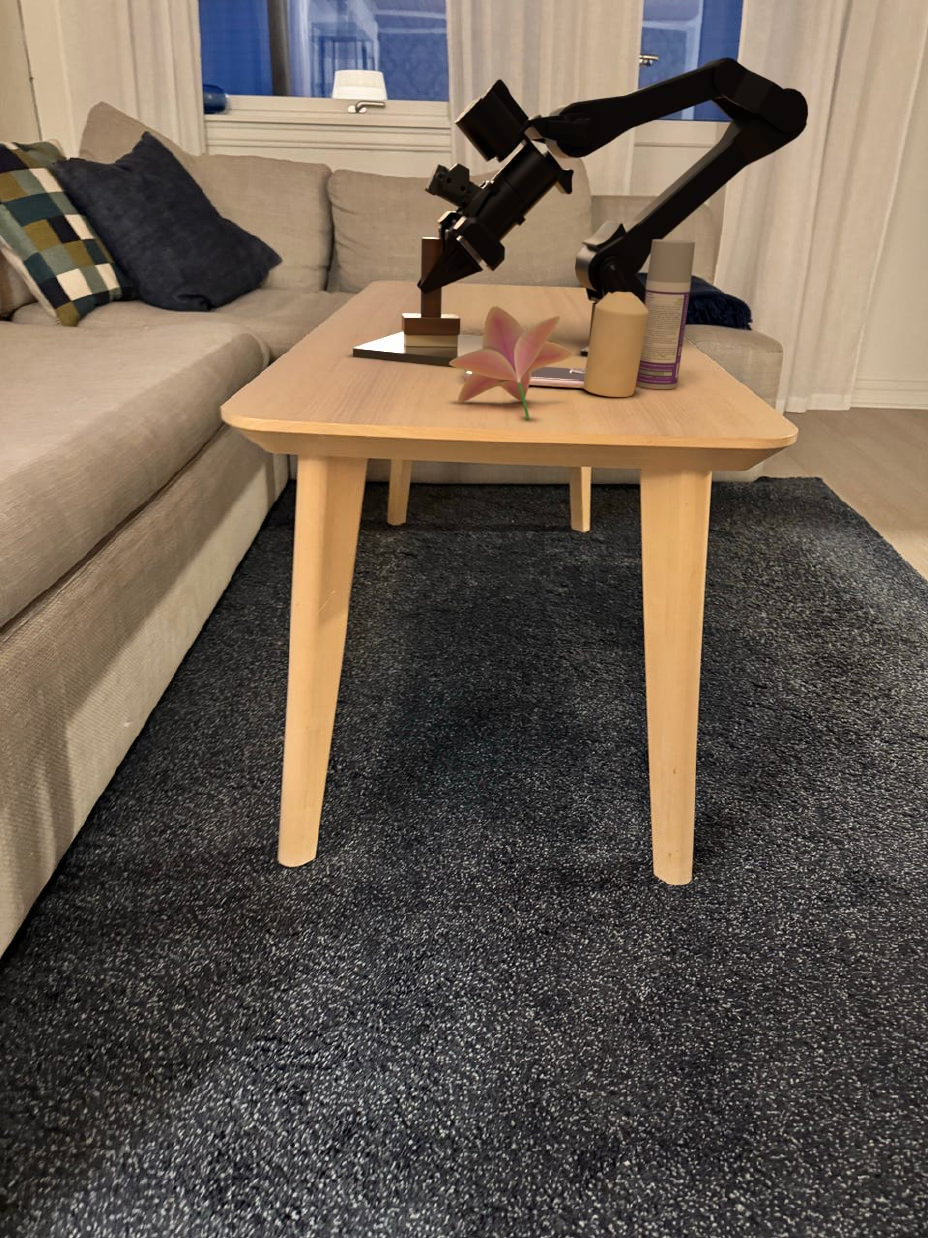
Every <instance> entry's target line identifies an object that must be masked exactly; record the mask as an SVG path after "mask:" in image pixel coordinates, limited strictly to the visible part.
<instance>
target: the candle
mask: <svg viewBox="0 0 928 1238" xmlns="http://www.w3.org/2000/svg"><path fill="white" fill-rule="evenodd" d="M648 314H649V311H648V309H647V308H646V306H645V305H644V304H643V303H642V302H641V301H640V300H639V298H638V297H636V296H635V295H634V294H633V293H631V292H614V293H613V294H612V293H610V292H608V294H607V295H606V296H605V297H604V298H603V299H601V300H600V301H599V302H598V303H597V304H596V305H595V311H594V317H593V324H592V330H591V337H590V343H589V342H588V345H589V350H588V355H587V356H586V357H587V358H586V362H585V363H586V364H585V369H586V370H585V376H584V388H583V389H584V390H585V391H587V392H589V393H591V394H595V395H599V396H605V397H610V398H611V397H612V398H626V397H627V398H628V397H631V396H633V395H634V394H635V390H636V386H637V385H636V380H637V375H638V369H639V364H640V358H641V353H642V347H643V341H644V336H645V330H646V325H647V319H648Z"/></svg>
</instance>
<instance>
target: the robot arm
mask: <svg viewBox="0 0 928 1238" xmlns="http://www.w3.org/2000/svg"><path fill="white" fill-rule="evenodd" d="M710 101H711V102H712V103H713V104H715V105H716V106H717V108H718V109H719V110H720V111H721V112H722V113H723V114H724V115H725V116H726V117H727V118H729V119H730V123H729V124H728V126H727V128H726V129H725V131H724V133H723V135H722V137H721V138H720V140H719V141H718V142H717V143H716V144H715V145H714V146H713V147H711V149H709V150H708V151H707V152H706V153H705V154H704V155H703V156H701V158H699V159H698V160H697V161H696V162H695V163H693V164H692V166H690V167H689V168H688V169H687V170H686V171H684V173H683V174H681V176H679V177H678V178H677V179H675V181H673V182H672V183H671V184H669V186H668V187H667V188H666V189H665V190H663V191H662V192H661V193H660V194H659V195H658V196H657V197H656V198H654V200H652V201H651V202H650V203H649V204H648V205H647V206H645V208H643V209H642V210H641V211H640V212H639V213H638V214H637V215H635V216H634V217H633V218H632V219H630V220H629V221H628V222H626V223H624V224H623V222H618V221H611V220H606V221H605V222H604V223H603V224H602V225H601V226H600V227H599V228H598V230H597V231H596V232H595V233H594V234H593V235H592V236H591V237H589V238H587V239H584V240H582V241H581V244H582V245H584V246H583V247H582V248H581V250H580V251H579V252H577V255H576V257H575V264H574V271H575V276H576V278H577V280H578V282H579V283H580V284H581V285H582V286H583V287H584V288H585V292H586V296H587V300H588V301H590V302H592V303H591V312H590V323H589V335H588V345H587V346H585V347H584V348H583V349H581V350H580V355H583V356H588V350H589V343H590V337H591V330H592V324H593V317H594V311H595V305H596V304H597V303H598V302H599V301H600V300H601V299H603V298H604V297H605V296H606V295H607V294H608V292H610V293H612V294H613V293H614V292H631V293H633V294H634V295H635V296H636V297H638V298H639V300H640V301H641V302H642V303H643V304H644V299H645V290H646V286H645V285H644V284H643V283H642V282H641V280H640V279H639V278H638V276H637V275H638V273H640V272H641V270H642V269H643V267H645V264H646V262H647V260H648V259H649V258H650V254H651V247H652V240H656V239H666V238H667V236H668V235H669V234H670V233H672V232H673V231H674V230H675V229H676V228H677V227H679V225H681V224H682V223H683V222H684V221H686V219H688V217H690V216H691V215H692V214H693V213H694V212H696V211H697V210H698V209H699V208H700V207H701V206H702V205H704V204H705V202H707V201H708V200H709V199H710V198H712V196H714V195H715V194H716V193H717V192H718V191H720V190H721V189H722V188H723V187H724V186H725V185H726V184H728V183H729V182H730V181H731V180H732V179H733V178H735V176H736V175H738V174H739V173H740V172H741V171H742V170H743V169H745V168H747V166H749V165H751V164H753V163H755V162H757V161H760V160H762V159H763V158H765V157H767V156H769V155H772V154H774V153H775V152H778V150H781V148H784V147H785V146H787V145H788V144H790V143H791V142H793V141H795V140H796V139H797V138H799V136H800V135H802V133H803V132H804V131H805V129H806V127H807V126H808V118H809V105H808V102H807V99H806V97H805V95H804V94H803V93H802V92H801V91H800V90H798V89H796V88H791V87H786V88H783V87H782V86H781V85H779V84H777V83H776V82H775V81H773V80H770V79H769V78H766V77H764V76H762V75H760V74H758V73H756V72H754V71H752V70H750V69H748V68H747V67H746V66H744V65H742V64H741V63H740V62H738V61H737V60H735V58H732V57H730V56H729V57H722V58H718V59H714V60H711V61H708V62H707V63H705V64H703V65H702V66H700V67H698V68H695V69H691V70H688V71H687V72H683V73H681V74H678V75H675V76H672V77H669V78H667V79H664V80H661V81H658V82H655V83H653V84H650V85H647V86H644V87H641V88H639V89H636V90H633V91H630V92H627V93H624V94H621V95H618V96H610V97H602V98H595V99H589V100H588V99H587V100H581V101H576V102H571V103H568V104H567V103H566V104H563V105H559V106H558V107H556V108H554V109H552V111H550V112H549V113H548V116H542V115H541V114H537V115H532V116H530V117H529V116H528V115H527V113H526V112H525V111H524V110H523V108H522V107H521V106H520V104H519V103H518V102H517V100H515V98H514V97H513V95H512V94H511V92H510V89H509V88H508V86H507V84H506V83H505V82H504V81H503V79H500V78H499V79H496V80H495V81H494V82H493V83H492V84H491V85H490V86H489V87H488V88H487V89H486V90H485V91H483V92H482V94H481V95H480V96H479V97H477V98H476V99H474V100H472V101H471V102H470V103H469V104H468V105H467V106H466V107H465V108H464V110H463V111H462V112H461V113H460V114H459V116H458V117H457V118H456V120H455V121H454V124H455V125H456V127H458V129H459V130H460V132H462V134H463V135H464V137H466V139H467V140H468V141H469V142H470V144H471V145H472V146H473V147H474V149H475V150H476V151H477V152H478V154H480V156H481V157H482V159H484V161H485V162H486V163H487V162H490V161H491V160H493V159H495V160H496V161H497V163H499V164H500V163H502V162H504V161H505V160H506V159H507V158H508V157H509V156H511V154H512V153H513V152H514V151H515V150H516V149H517V148H518V147H519V146H520V144H521V145H522V147H521V148H520V149H519V150H518V151H517V152H516V153H515V154H514V155H513V157H511V159H510V160H508V162H506V164H504V166H503V167H502V168H501V169H500V170H499V171H498V172H497V173H496V174H495V175H494V176H493V178H492V179H491V180H483V181H482V182H481V183H480V184H479V185H478V184H475V182H473V181H471V180H470V177H471V176H470V173H471V172H470V168H468V167H467V166H465V165H463V164H461V163H458V162H456V163H455V164H454V165H453V166H451V167H450V168H447V167H446V166H445V165H441V164H440V163H439V164H435V165H434V167H433V170H432V172H431V174H430V176H429V179H428V180H427V183H426V185H425V188H424V191H425V192H426V193H428V194H429V195H431V196H436V197H439V198H441V199H443V200H445V201H446V202H448V203H450V204H451V205H454V206H455V207H457V208H456V209H455V210H446V211H445V212H444V214H442V216H440V218H439V219H438V220H437V221H436V223H437V224H438V238H443V253H442V254H441V256H440V257H439V259H438V260H437V262H436V263H435V264H434V266H433V267H432V269H431V270H430V272H429V273H428V275H427V276H426V278H425V279H424V281H423V282H422V284H421V277H420V278H419V280H418V281H417V283H416V287H417V288H418V289H419V290H420V292H421V291H422V292H423V293H424V294H428V293H430V292H432V291H435V290H437V289H439V288H441V287H442V288H444V287H446V286H448V285H451V284H453V283H455V282H458V281H460V280H463V279H465V278H469V277H470V276H472V275H475V274H477V273H482V272H483V271H484V268H483V267H482V266H481V265H480V264H481V263H482V262H484V263H485V267H486V268H487V269H488V270H489V271H491V272H495V270H496V269H498V267H499V266H500V265H501V264H502V263H503V262H504V261H505V258H506V247H505V246H504V244H502V241H503V240H504V239H505V238H506V236H507V235H509V233H510V232H512V230H513V229H515V227H516V226H518V227H521V226H522V225H523V223H525V222H526V221H527V219H526V216H527V215H528V214H529V213H530V212H531V211H532V210H533V208H535V207H536V206H537V205H538V203H539V202H540V201H542V199H543V198H544V197H545V196H546V195H547V194H548V193H549V192H550V191H551V190H552V189H553V188H554V187H555V188H556V189H557V191H558V192H559V193H560V194H561V195H571V194H573V176H574V173H575V172H574V171H575V170H574V169H572V168H567V169H564V168H563V167H562V165H561V164H560V163H559V162H558V160H556V158H555V157H557V158H559V159H579V158H585V157H587V156H589V155H591V154H593V153H594V152H596V151H599V149H601V148H603V147H605V146H607V145H608V144H610V143H611V142H613V141H614V140H616V139H617V138H619V137H620V136H621V135H623V134H625V133H626V132H628V131H629V130H632V129H634V128H637V127H639V126H643V125H645V124H647V123H651V122H653V121H656V120H659V119H662V118H664V117H667V116H671V115H673V114H676V113H679V112H681V111H684V110H687V109H690V108H693V107H696V106H698V105H701V104H704V103H706V102H710ZM533 142H534V143H539V144H542V145H545V146H546V150H545V151H543V152H541V151H540V150H539V148H537V146H536V145H535V144H534V143H533ZM547 149H548V150H547ZM554 156H555V157H554Z"/></svg>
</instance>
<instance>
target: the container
mask: <svg viewBox="0 0 928 1238" xmlns="http://www.w3.org/2000/svg"><path fill="white" fill-rule="evenodd" d="M695 249H696V242H695V241H693V240H683V239H667V238H663V239H656V240H652V247H651V253H650V255H649V261H648V262H649V264H648V270H647V276H646V277H647V278H646V282H645V283H646V284H645V288H646V290H645V299H644V305H645V306H646V308H647V309H648V311H649V314H648V319H647V325H646V330H645V336H644V341H643V347H642V353H641V358H640V364H639V369H638V375H637V380H636V386H637V387H640V388H644V389H649V390H650V389H651V390H673V389H676V388H677V387H678V381H679V374H680V367H681V360H682V353H683V344H684V337H685V330H686V322H687V315H688V307H689V300H690V293H691V283H692V274H693V265H694V257H695V256H694V255H695Z"/></svg>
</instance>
